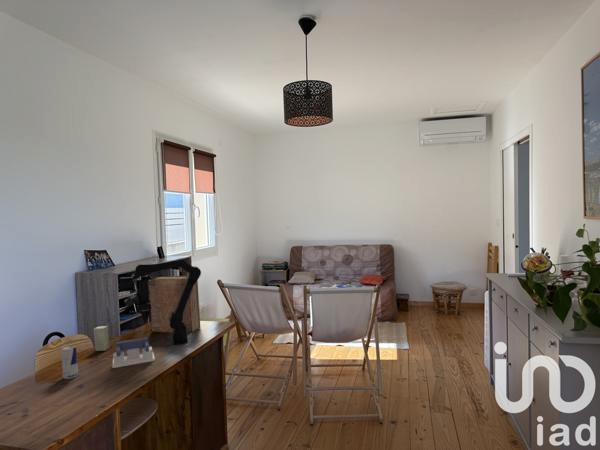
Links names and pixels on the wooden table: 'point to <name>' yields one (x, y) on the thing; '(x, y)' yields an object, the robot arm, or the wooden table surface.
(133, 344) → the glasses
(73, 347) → the energy drink
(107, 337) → the box
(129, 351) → the display stand
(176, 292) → the book
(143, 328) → the wooden table surface
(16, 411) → the wooden table surface
